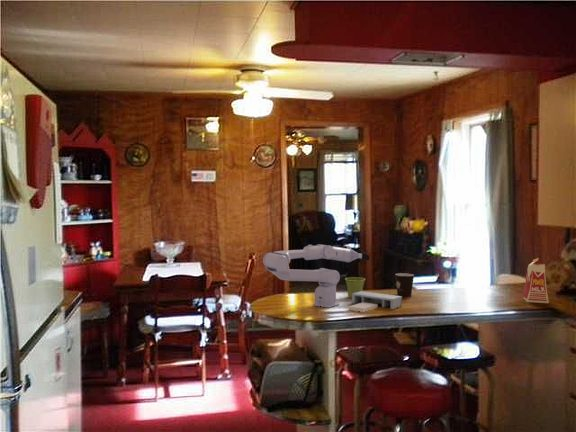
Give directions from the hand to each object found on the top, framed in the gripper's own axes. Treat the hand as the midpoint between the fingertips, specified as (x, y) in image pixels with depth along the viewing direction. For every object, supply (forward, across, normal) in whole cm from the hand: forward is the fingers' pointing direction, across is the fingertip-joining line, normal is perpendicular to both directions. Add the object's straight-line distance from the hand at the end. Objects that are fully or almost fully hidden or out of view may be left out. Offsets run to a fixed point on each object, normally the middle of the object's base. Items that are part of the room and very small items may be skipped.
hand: (362, 257), depth 258 cm
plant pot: (+5, +8, +18) cm, 21 cm away
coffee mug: (+28, 0, +15) cm, 32 cm away
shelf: (+2, -9, +20) cm, 22 cm away
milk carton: (+69, -43, +11) cm, 82 cm away
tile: (-9, -13, +23) cm, 27 cm away
